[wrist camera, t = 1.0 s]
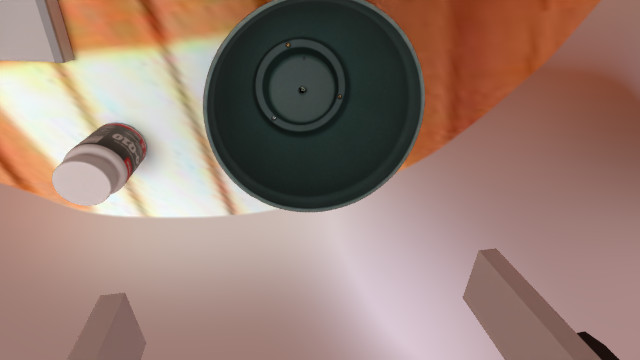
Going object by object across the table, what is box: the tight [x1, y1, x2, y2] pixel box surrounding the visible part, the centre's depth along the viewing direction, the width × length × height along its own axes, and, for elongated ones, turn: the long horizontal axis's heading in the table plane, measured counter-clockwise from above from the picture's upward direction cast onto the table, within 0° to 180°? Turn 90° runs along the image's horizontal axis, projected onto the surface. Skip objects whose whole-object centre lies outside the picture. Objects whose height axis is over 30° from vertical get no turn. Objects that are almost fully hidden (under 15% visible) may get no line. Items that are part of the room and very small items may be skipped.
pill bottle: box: [52, 123, 146, 206], centre depth 28 cm, size 5×5×8 cm
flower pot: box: [203, 0, 425, 212], centre depth 28 cm, size 16×16×11 cm
